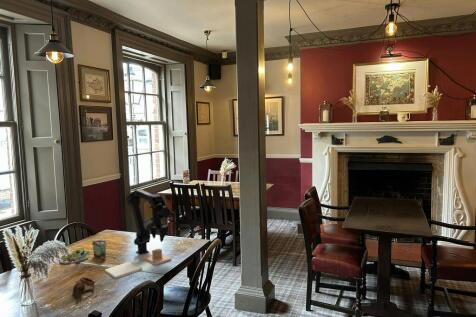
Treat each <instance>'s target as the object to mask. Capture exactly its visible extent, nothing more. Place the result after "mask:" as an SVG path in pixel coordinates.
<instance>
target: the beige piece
mask: <svg viewBox="0 0 476 317" xmlns="http://www.w3.org/2000/svg"><path fill="white" fill-rule="evenodd" d="M162 250H163V249H161V248H155V249H153V250H151V254H150V255H148V256H144V257H143V260H144V261H146V262H148V263H150V264H152V265H154V266H158V265H161V264H164V263H167V262H170V261H172V258H171V257H169V256H167V255H164V254H163V251H162Z"/></svg>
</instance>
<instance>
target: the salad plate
mask: <svg viewBox="0 0 476 317" xmlns="http://www.w3.org/2000/svg"><path fill="white" fill-rule="evenodd" d="M90 251H91V250H90ZM90 251H89V250H87V251H85V249H84V248H83V247H82V248H80V247H79V248H76V249H74V250H73V252H71V253H67V254H68V255H67V256H65V254H63V256H62V255H60V257H61V260H59V262H60V263H61V264H63V265H69V264H70V265H71V263H72V264H77V263H80V261H81V262H84V261H86V260H87V259H88V258H89V254H90ZM62 260H64V262H63V261H62ZM65 260H67V262H66V261H65ZM70 260H71V261H70ZM72 261H73V262H72Z"/></svg>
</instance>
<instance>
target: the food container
mask: <svg viewBox="0 0 476 317" xmlns="http://www.w3.org/2000/svg"><path fill="white" fill-rule="evenodd" d="M91 244H92V250H93V258H95V257H96V259H97V258H98V259H97V260H99V259H100V260H99V261H102V260H105V259H106V258H107V257H106V256H107V254H106V253H107V251H106V250H107V246H108V244H107V241H105V240H102V239H101V240H93V241H92V242H91Z"/></svg>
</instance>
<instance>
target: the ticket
mask: <svg viewBox="0 0 476 317" xmlns="http://www.w3.org/2000/svg"><path fill="white" fill-rule="evenodd" d="M142 270H143V267H141V265H138V264H136V263H135V262H132V261H128V262H125V263H121V264H119V265H115V266H112V267H109V268H105V269H104V272H105V273H106V274H107V275H109V276H111V277H112V278H114V279H116V280H117V279H119V278H122V277H124V276H125V277H126V276H128V275H132V274H133V273H137V272H141V271H142Z"/></svg>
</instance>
